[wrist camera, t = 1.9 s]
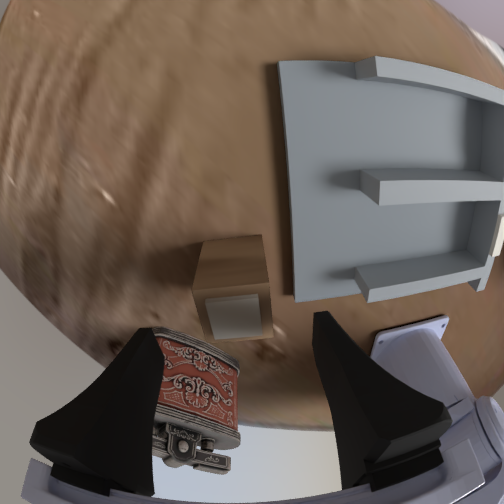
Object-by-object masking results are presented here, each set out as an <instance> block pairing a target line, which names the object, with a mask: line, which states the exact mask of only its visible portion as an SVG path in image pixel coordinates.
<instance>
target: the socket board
mask: <svg viewBox="0 0 504 504" xmlns="http://www.w3.org/2000/svg"><path fill="white" fill-rule="evenodd" d="M277 69H278V77H279V86H280V96H281V106H282V116H283V127H284V138H285V150H286V162H287V176H288V191H289V207H290V224H291V245H292V269H293V296H294V300H295V303H296V302H304V301H311V300H319V299H326V298H333V297H340V296H346V295H353V294H359V293H362V294H363V296H364V298H365V300H366V301H367V303H370V302H376V301H381V300H386V299H392V298H397V297H402V296H407V295H412V294H416V293H421V292H426V291H430V290H435V289H439V288H443V287H447V286H452V285H456V284H460V283H464V282H468V283H469V284H470V285H471V286H472V287H473V289H474V290H475V291H476V292H477V291H480V290H484V288H485V286H486V283H487V280H488V277H489V274H490V271H491V268H492V265H493V262H494V258H495V256H498V255H500V252H501V248H502V244H503V241H504V90H502V89H500V88H497V87H495V86H492V85H489V84H487V83H484V82H481V81H479V80H476V79H473V78H470V77H467V76H464V75H461V74H457V73H454V72H450V71H447V70H443V69H440V68H436V67H432V66H427V65H423V64H419V63H414V62H409V61H404V60H398V59H392V58H386V57H379V56H374V57H370V58H367V59H364V60H361V61H358V62H355V63H354V62H340V61H279V62H278V63H277Z"/></svg>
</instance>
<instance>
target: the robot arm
mask: <svg viewBox="0 0 504 504" xmlns="http://www.w3.org/2000/svg"><path fill="white" fill-rule="evenodd" d="M448 321H449V317H448V316H447V315H444V316H441V317H437V318H434V319H430V320H426V321H423V322H419V323H415V324H411V325H407V326H403V327H399V328H394V329H390V330H386V331H381V332H379V333H378V334H377V335H376V337H375V341H374V345H373V348H372V352H371V356H370V357H369V356H368V355H367V354H366V353H365V352H364V351H363V350H362V349H361V348H360V347H359V346H358V345H357V344H356V343H355V342H354V341H353V340H352V339H351V338H350V337H349V335H348V334H347V333H346V332H345V331H344V330H343V329H342V327H341V326H340V325H339V324H338V323H337V321H336V320H335V319H334V318H333V316H332V315H331V314H330V312H328V311H322V312H316V313H314V318H313V339H312V346H313V351H314V357H315V361H316V366H317V369H318V372H319V375H320V378H321V381H322V384H323V387H324V390H325V394H326V397H327V400H328V403H329V406H330V410H331V415H332V420H333V425H334V431H335V437H336V443H337V449H338V457H339V464H340V472H341V484H342V490H341V491H337V492H332V493H327V494H322V495H317V496H311V497H305V498H298V499H290V500H281V501H271V502H257V503H201V502H186V501H176V500H168V499H160V498H153V497H151V496H153V495H154V494H155V492H154V483H153V471H152V470H153V469H152V440H153V425H154V418H155V412H156V407H157V403H158V398H159V394H160V389H161V384H162V380H163V373H164V362H165V356H164V354H163V352H162V350H161V348H160V346H159V344H158V341H157V339H156V337H155V335H154V332H153V330H152V328H139V329H138V331H137V332H136V333H135V334H134V335H133V337H132V338H131V339H130V340H129V342H128V343H127V344H126V345H125V347H124V348H123V349H122V350H121V352H120V353H119V354H118V355H117V357H116V358H115V359H114V360H113V361H112V362H111V364H110V365H109V366H108V367H107V368H106V369H105V370H104V371H103V373H102V374H101V375H100V376H99V377H98V378H97V379H96V380H95V381H94V382H93V383H92V384H91V385H90V386H89V387H88V388H87V389H86V390H84V391H83V392H82V393H81V394H79V395H78V396H77V397H76V398H74V399H73V400H72V401H71V402H69V403H68V404H66V405H65V406H64V407H62V408H61V409H59V410H57V411H56V412H54V413H53V414H51V415H49V416H47V417H45V418H43V419H41V420H39V421H37V422H36V425H35V428H34V430H33V433H32V436H31V439H30V442H29V443H30V445H31V446H32V447H33V448H34V449H35V450H36V451H37V452H39V453H40V454H41V455H43V456H44V457H46V458H47V459H49V460H50V461H52V462H53V466H52V467H51V466H49V465H47V464H45V463H42V462H40V461H38V460H35V459H33V458H31V460H30V463H29V466H28V470H27V473H26V477H25V481H24V485H23V489H22V493H21V497H22V498H23V499H25V500H27V501H28V502H30V503H32V504H504V498H503V496H504V412H503V411H502V409H501V408H500V406H499V405H498V403H497V402H496V401H495V400H494V399H493V398H492V397H486V396H481V397H480V398H479V399H477V398H474V396H473V394H472V392H471V390H470V388H469V387H468V385H467V383H466V381H465V380H464V378H463V376H462V374H461V373H460V371H459V369H458V368H457V366H456V364H455V362H454V361H453V359H452V358H451V356H450V354H449V353H448V351H447V350H446V348H445V346H444V345H443V343H442V342H441V337H442V335H443V333H444V331H445V328H446V326H447V323H448Z"/></svg>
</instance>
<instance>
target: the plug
mask: <svg viewBox="0 0 504 504" xmlns="http://www.w3.org/2000/svg"><path fill="white" fill-rule="evenodd" d="M192 294H193V298H194V301H195V305H196V308H197V312H198V315H199V319H200V322H201V325H202V329H203V332H204V335H205V339H206V342H207V343H219V342H232V341H244V340H254V339H264V338H273V337H274V335H273V322H272V310H271V298H270V287H269V278H268V272H267V266H266V259H265V253H264V246H263V240H262V235H254V236H245V237H236V238H227V239H218V240H210V241H203V245H202V249H201V253H200V257H199V261H198V265H197V269H196V273H195V278H194V282H193V286H192Z"/></svg>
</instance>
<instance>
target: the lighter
mask: <svg viewBox="0 0 504 504" xmlns="http://www.w3.org/2000/svg"><path fill="white" fill-rule="evenodd" d="M152 330H153V332H154V335H155V337H156V339H157V341H158V344H159V346H160V348H161V350H162V352H163V354H164V356H165V362H164V373H163V380H162V384H161V389H160V394H159V398H158V403H157V407H156V412H155V418H154V425H153V440H152V455H153V456H157V457H160V458H162V460H163V462H164V463H165V464H166V465H167V466H169V467H173V468H177V467H180V466H182V465H189V466H193V469H196V470H201V471H205V472H210V473H215V474H227V473H228V471H230V470H231V467H230V466H231V465H230V464H231V458H230V457H228V456H224V455H220V454H215V453H212V452H213V450H214V449H218V450H228V449H234V448H236V447H238V446H239V445H240V433H239V432H238V418H237V377H238V376H239V362H238V361H237V360H236V359H235V358H233V357H232V356H230V355H229V354H227V353H225V352H224V351H222V350H220V349H218V348H216V347H214V346H212V345H210V344H209V343H207V342H205V341H202V340H200V339H197V338H195V337H192V336H190V335H187V334H185V333H182V332H179V331H176V330H173V329H170V328H167V327H156V328H154V329H152ZM157 436H158V437H157ZM197 446H201V450H199V449H196V447H197Z"/></svg>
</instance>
